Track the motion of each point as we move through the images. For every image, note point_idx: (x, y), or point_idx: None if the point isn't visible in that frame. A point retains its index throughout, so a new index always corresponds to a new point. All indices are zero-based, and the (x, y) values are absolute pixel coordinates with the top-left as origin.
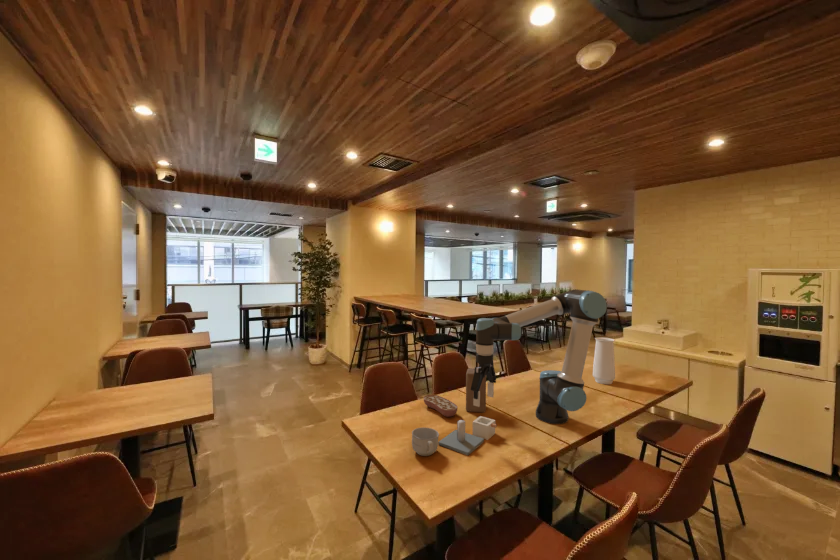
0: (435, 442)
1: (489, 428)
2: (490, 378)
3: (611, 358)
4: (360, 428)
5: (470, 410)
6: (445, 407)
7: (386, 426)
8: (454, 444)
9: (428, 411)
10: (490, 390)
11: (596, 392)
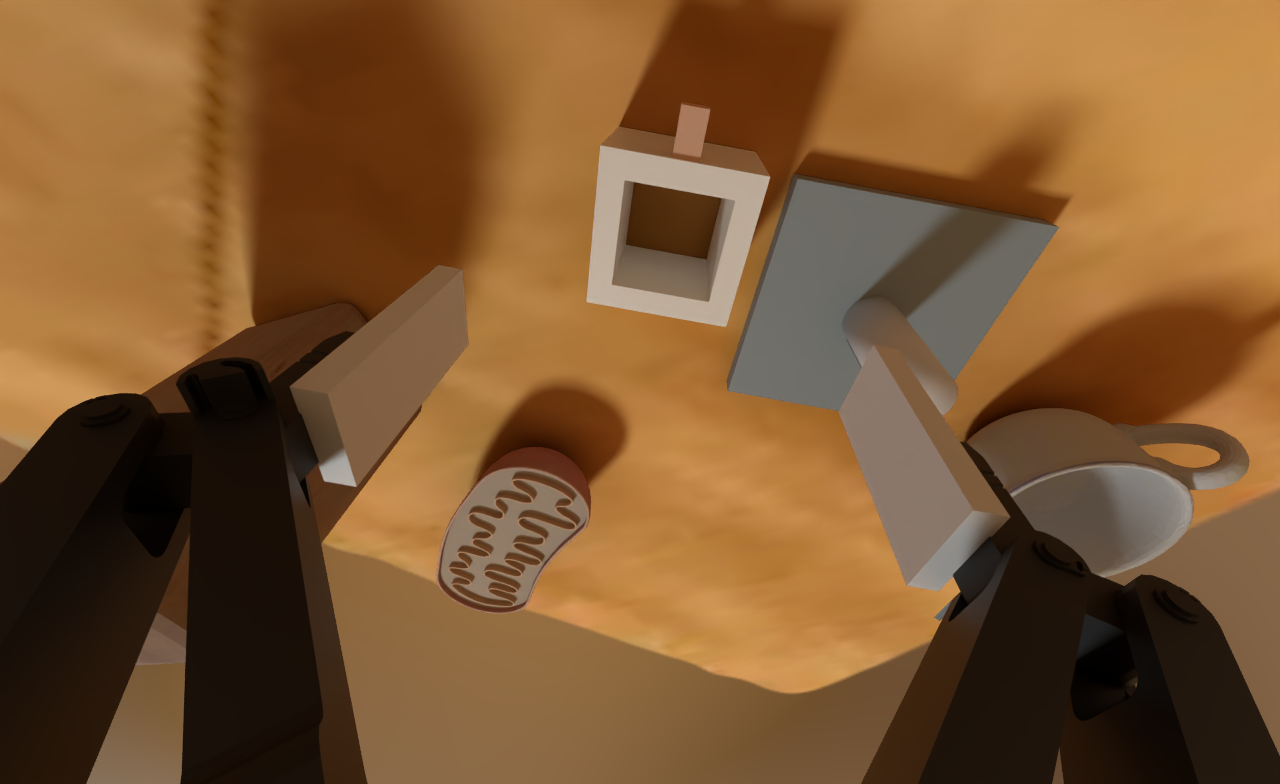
0: (1129, 446)
1: (733, 163)
2: (305, 528)
3: None
4: (838, 662)
5: None
6: (548, 514)
7: (790, 615)
8: (940, 341)
9: None
10: (421, 352)
11: None
